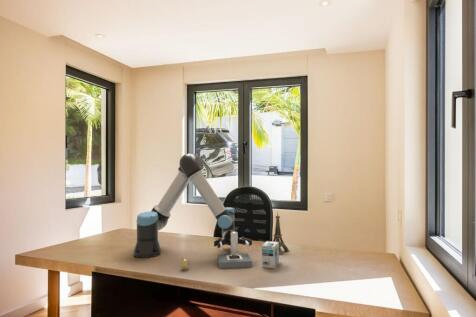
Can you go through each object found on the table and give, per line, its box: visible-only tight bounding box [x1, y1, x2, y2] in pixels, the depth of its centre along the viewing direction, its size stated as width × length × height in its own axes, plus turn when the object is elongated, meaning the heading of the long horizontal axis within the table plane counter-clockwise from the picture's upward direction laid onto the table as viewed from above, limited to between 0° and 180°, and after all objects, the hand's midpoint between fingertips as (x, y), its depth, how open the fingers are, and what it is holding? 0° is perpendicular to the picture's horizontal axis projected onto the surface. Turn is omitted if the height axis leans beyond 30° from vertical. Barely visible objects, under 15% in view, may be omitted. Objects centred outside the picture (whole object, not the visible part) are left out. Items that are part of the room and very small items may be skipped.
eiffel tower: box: [272, 211, 290, 256], centre depth 185 cm, size 11×11×25 cm
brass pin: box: [180, 258, 190, 272], centre depth 154 cm, size 4×4×5 cm
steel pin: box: [230, 231, 239, 259], centre depth 163 cm, size 4×4×16 cm
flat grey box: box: [217, 252, 253, 270], centre depth 163 cm, size 16×14×3 cm
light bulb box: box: [261, 240, 280, 269], centre depth 161 cm, size 11×7×11 cm, turn 161°
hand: (235, 246), depth 160 cm, fingers open, 13 cm apart
